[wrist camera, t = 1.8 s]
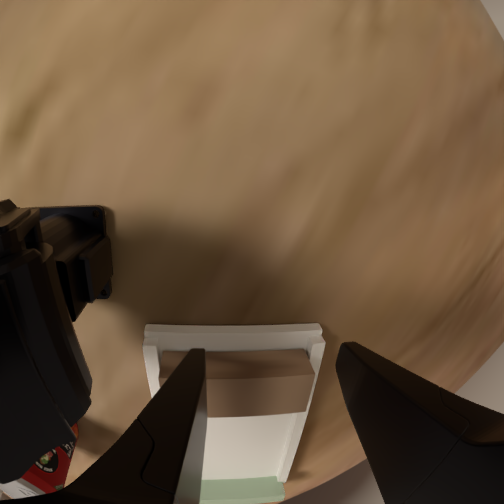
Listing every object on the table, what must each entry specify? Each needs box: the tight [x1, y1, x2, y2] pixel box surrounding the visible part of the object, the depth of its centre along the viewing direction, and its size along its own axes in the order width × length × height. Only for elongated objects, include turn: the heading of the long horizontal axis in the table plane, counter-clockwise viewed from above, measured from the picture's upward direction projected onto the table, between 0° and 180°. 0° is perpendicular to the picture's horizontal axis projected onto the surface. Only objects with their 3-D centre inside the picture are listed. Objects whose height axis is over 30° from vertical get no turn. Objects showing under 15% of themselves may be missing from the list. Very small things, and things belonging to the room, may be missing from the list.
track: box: [142, 323, 326, 504], centre depth 24 cm, size 13×24×4 cm, turn 176°
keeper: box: [158, 349, 315, 418], centre depth 21 cm, size 10×4×3 cm, turn 86°
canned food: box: [0, 423, 78, 499], centre depth 18 cm, size 8×8×11 cm
